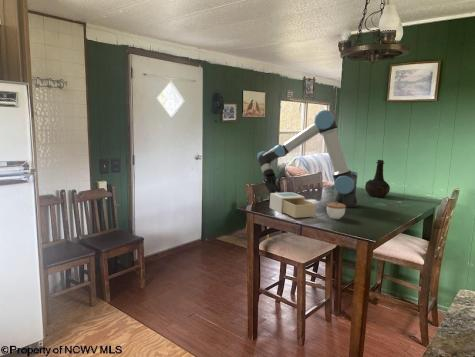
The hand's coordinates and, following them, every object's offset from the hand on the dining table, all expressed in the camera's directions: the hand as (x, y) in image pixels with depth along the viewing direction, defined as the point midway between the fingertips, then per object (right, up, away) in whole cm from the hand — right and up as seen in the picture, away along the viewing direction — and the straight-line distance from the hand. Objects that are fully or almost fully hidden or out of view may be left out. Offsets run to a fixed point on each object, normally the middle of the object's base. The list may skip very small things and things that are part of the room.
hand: (278, 201), depth 232 cm
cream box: (+4, -5, -8) cm, 10 cm away
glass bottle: (+81, +1, +47) cm, 93 cm away
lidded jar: (+30, -8, -22) cm, 38 cm away
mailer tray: (+7, -5, -15) cm, 17 cm away
